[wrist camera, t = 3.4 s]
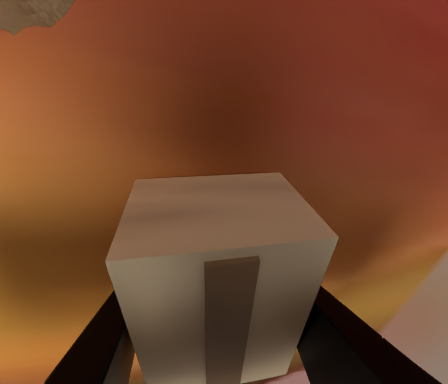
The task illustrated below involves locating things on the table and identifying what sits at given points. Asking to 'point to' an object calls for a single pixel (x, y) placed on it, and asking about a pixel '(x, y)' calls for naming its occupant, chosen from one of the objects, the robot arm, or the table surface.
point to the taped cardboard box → (217, 275)
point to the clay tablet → (31, 13)
